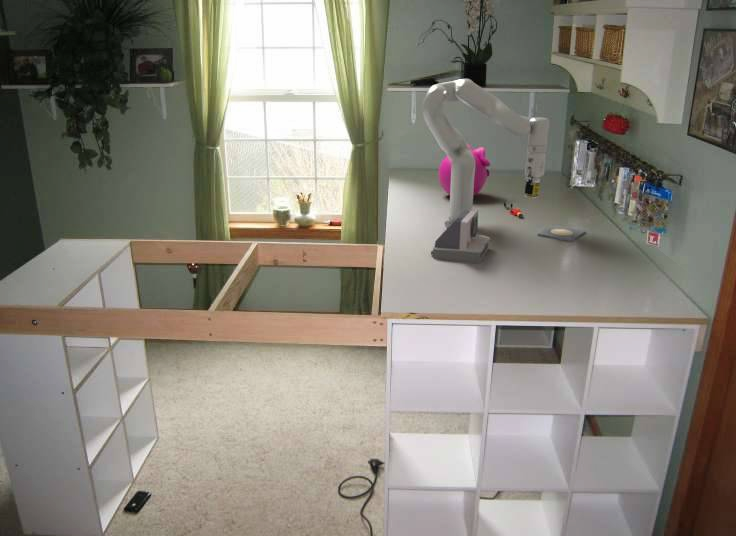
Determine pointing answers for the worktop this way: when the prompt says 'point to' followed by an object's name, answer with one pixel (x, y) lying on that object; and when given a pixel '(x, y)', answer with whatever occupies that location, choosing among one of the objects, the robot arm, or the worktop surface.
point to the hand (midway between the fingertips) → (531, 192)
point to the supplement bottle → (534, 188)
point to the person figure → (514, 211)
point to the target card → (561, 233)
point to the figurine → (479, 176)
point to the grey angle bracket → (462, 240)
